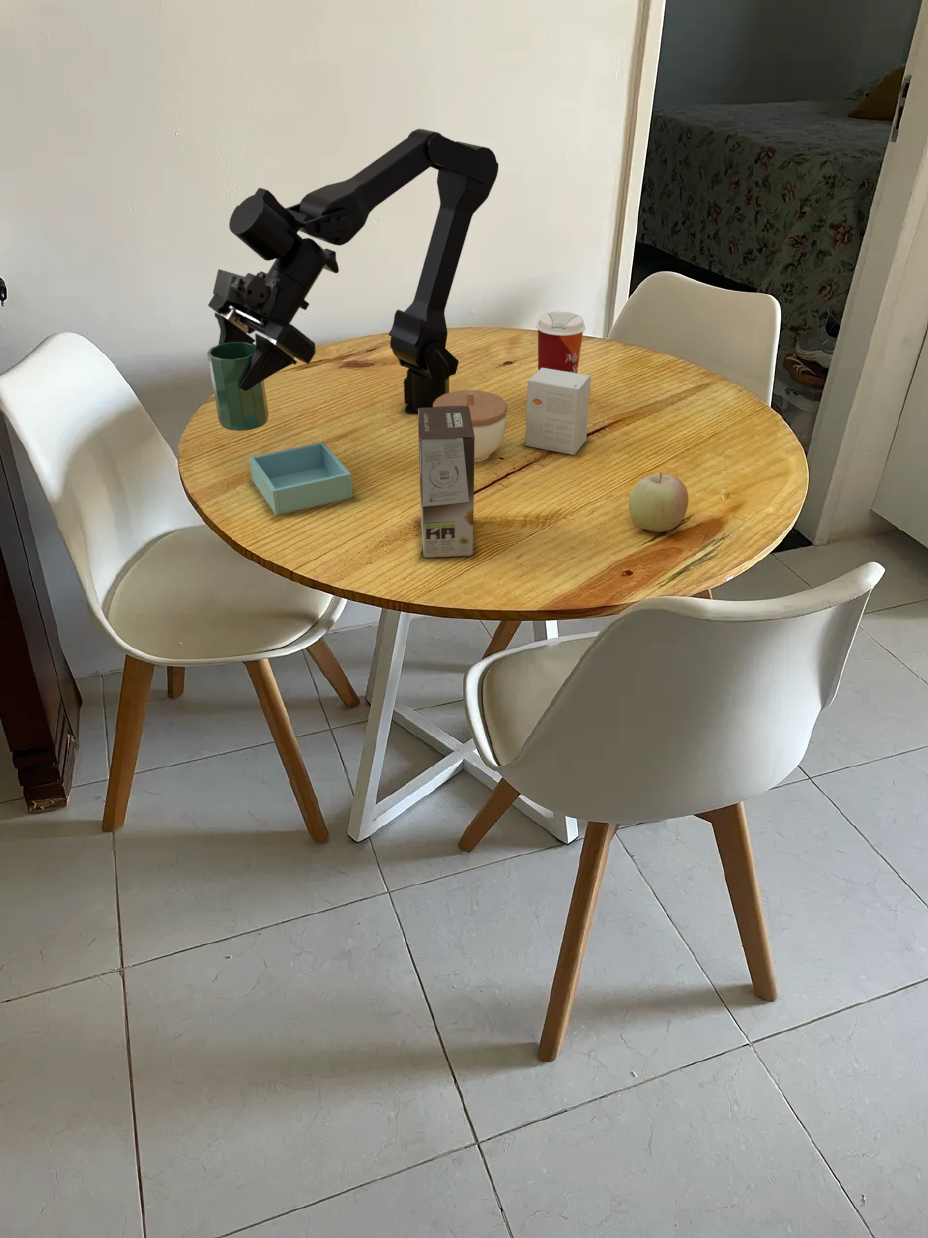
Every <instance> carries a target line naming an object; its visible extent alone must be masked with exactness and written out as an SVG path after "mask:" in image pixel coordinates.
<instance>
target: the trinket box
mask: <svg viewBox="0 0 928 1238" xmlns="http://www.w3.org/2000/svg"><path fill="white" fill-rule="evenodd" d="M438 406H468V407H469V411H470V416H471V421H472V426H473V431H474V436H475V443H474V464H475V463H480V462H483V461H485V460H487V459H488V458H490V456H491V454H493V453H494V452H495V451H496V450H497V449H498V448H499V446H500V445H501V443H502V441H503V440H504V439H503V438H504V435H505V431H506V426H507V415H508V409H509V408H508V403H507V401H506V400H505V399H504V398H503V397H502V396H500V395H498V394H495V393H493V392H489V391H484V390H479V389H477V390H475V389H464V390H454V391H451V392H450V391H449V393H447V394H444V395H442V396H440V397H438V398H437V399H436V400H435V402H434V403H433V408H434V407H438Z"/></svg>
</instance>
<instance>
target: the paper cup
mask: <svg viewBox="0 0 928 1238" xmlns="http://www.w3.org/2000/svg"><path fill="white" fill-rule="evenodd" d="M535 328H536V329H537V371H538V370H539V369H541V368H547V369H553V370H559V371H566V372H572V373H578V371H579V370H578V369H579V363H580V355H581V347H582V343H583V335H584V331H585V330H586V325H585V324H584V318H583V317H582V316H581V315H579V314H577V313H573V312H568V311H550V312H546V313H543V314H541V315H540V317H539V318H538V322H537V323H536V325H535Z"/></svg>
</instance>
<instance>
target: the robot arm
mask: <svg viewBox="0 0 928 1238" xmlns="http://www.w3.org/2000/svg"><path fill="white" fill-rule="evenodd" d="M407 136H408V137H406V138H404V140H402V141H401V142H399V143H398V144H397V145H395V146H394V147H392V148H390V149H389V150H388V151H387V152H385V153H384V154H383V155H381V156H379V157H378V158H377V159H375V160H374V161H373V162H371V163H370V164H368V165H367V166H366V167H364V168H363V169H361V170H360V171H358V172H357V173H356V174H354V175H353V176H352V177H350V178H348V179H346V180H343V181H339V182H335V183H330V184H326V185H324V186H322V187H320V188H317V189H315V190H312V191H310V192H308V193H307V194H306V195H305V196H304V197H303V198H302V199H301V200H300V202H298V203H296V204H293V205H291V206H287V207H284V205H282V204H281V203H280V202H279V201H278V199H277V198H276V196H275V195H274V194H273V192H271V191H270V190H268V189H266V188H262V187H258V188H257V190H256V192H255V193H254V194H253V195H250V196H248V197H246V198H244V200H243V201H241V203H240V204H238V205H236V206H235V208H234V209H233V211H232V213H231V214H230V218H229V222H228V225H229V226H228V227H229V230H230V232H231V233H232V234H233V235H234V236H236V238H238V239H239V240H240V241H241V242H243V244H245V245H246V246H247V247H249V249H251V250H252V251H253V252H254V253H256V255H258V256H259V257H260V258H261V259H263V260H264V261H266V262H267V261H268V262H270V261H273V260H274V262H273V264H272V265H271V267H270V268H269V270H268V272H264V271H259V272H257V273H256V274H253V273H251V272H247V274H246V275H241V274H237V273H234V272H231V271H227V270H223V269H221V268H218V269H217V273H216V278H215V282H214V286H213V290H212V294H213V296H212V298H211V299H210V300H209V303H208V304H207V306H208V308H210V309H211V310H213V311H214V318H215V319H216V320H217V323H218V326H219V338H218V344H217V345H219V344H223V343H228V342H248V343H252V344H254V343H255V345H256V351H255V353H254V355H253V357H252V359H251V361H250V363H249V365H248V367H247V369H246V371H245V373H244V375H243V378H242V380H241V382H240V385H239V387H240V388H241V389H242V390H244V391H247V390H249V389H250V388H252V387H253V386H255V385H257V384H258V383H260V382H261V381H263V380H264V381H265V380H266V379H267V378H270V377H271V376H273V375H275V374H276V373H278V372H280V371H282V370H284V369H286V368H287V367H289V366H291V365H297V364H298V361H297V360H299V361H300V362H302V363H304V364H306V365H310V363H311V362H312V361H313V359H314V357H315V355H316V354H317V350H316V349H317V348H316V342H315V341H313V340H312V339H310V338H309V337H308V336H307V335H305V334H304V333H303V332H302V331H301V330H299V329H298V328H296V326H294V325H293V324H291V323H292V321H293V319H294V317H295V315H297V313H298V311H299V309H302V310H304V311H307V309H308V307H309V306H310V303H309V302H308V301H306V300H305V299H306V298H307V296H308V295H309V293H310V291H311V290H312V288H313V287H314V285H315V283H316V282H317V280H318V278H319V277H320V275H321V273H322V272H323V270H326V271H328V272H331V273H334V274H338V273H339V272H340V269H339V264H338V260H337V252H336V251H335V250H332V249H330V248H322V246H321V245H320V244H318V242H316V241H315V239H317V240H320V241H322V242H326V243H328V244H330V245H334V246H339V247H340V246H344V245H346V244H348V243H349V242H350V241H351V240H353V238H354V237H355V236H356V235H357V234H358V233H359V232H360V231H361V230H362V229H363V228H364V227H365V225H366V222H367V220H368V218H369V215H370V214H371V212H373V210H374V209H375V208H377V206H379V205H380V204H382V203H383V202H385V201H386V200H387V199H389V198H390V197H391V196H393V195H394V194H396V192H398V191H400V190H401V189H402V188H404V187H405V186H407V185H408V184H409V183H411V181H413V180H414V179H416V178H417V177H418V176H420V175H421V174H423V173H424V172H425V171H427V170H428V169H429V168H432V169H434V170H437V177H436V185H437V191H438V197H439V208H438V211H437V215H436V219H435V221H434V222H435V223H434V226H433V230H432V233H431V237H430V240H429V243H428V248H427V251H426V254H425V258H424V261H423V265H422V268H421V272H420V277H419V279H418V284H417V286H416V291H415V294H414V297H413V299H412V303H410V305H409V306H408V307H407V308H406V309H404V311H403V310H401V309H397V310H396V311H395V314H394V318H393V323H392V327H391V329H390V331H389V333H388V336H389V337H390V341H389V347H390V349H391V351H392V353H393V355H394V356H395V357H396V358H397V360H398V362H399V365H400V366H401V367H403V368H406V369H407V371H406V376H405V378H404V380H403V400H404V404H405V405H406V406H405V407H404V412H405V413H412V414H418V409H419V408H433V403H434V402H435V400H436V399H437V398H438V397H440V396H442V395H444V394H447V393H450V377H451V376H454V375H456V374H457V371H458V367H459V359H457V358H456V357H455V356H454V355H453V354H452V353H451V352H450V351H449V350H447V348H446V346H447V339H448V328H447V323H446V322H447V321H446V316H445V311H446V306H447V304H448V300H449V296H450V293H451V290H452V286H453V283H454V281H455V276H456V273H457V272H456V271H457V269H458V266H459V262H460V258H461V256H462V252H463V248H464V245H465V241H466V238H467V235H468V233H469V229H470V226H471V225H470V224H471V221H472V218H473V216H474V214H475V213H476V212H477V210H479V208H481V206H482V205H483V204H484V203H485V202H486V201H487V199H488V198H489V196H490V194H491V192H492V189H493V187H494V184H495V182H496V180H497V177H498V173H499V162H498V161H497V156H496V154H495V153H494V151H493V150H492V149H491V148H489V147H486V146H483V145H482V146H481V145H476V144H473V143H467V142H463V141H458V140H456V141H455V140H452V139H450V138H448V137H447V136H444V135H443V134H441V133H440V132H438V131H434V130H429V129H424V128H417V129H414V130H412V131H411V132H409V134H408V135H407ZM298 232H301V233H303V234H306V235H307V236H309V237H305V238H304V237H302V236H301V235H299V234H298ZM310 237H312V238H314V239H312V238H310ZM255 332H258V333H259V334H258V333H255ZM253 333H255V334H254V338H253V337H252V336H250V335H251V334H253ZM260 334H262V335H264V336H265V337H264V336H262V335H260ZM295 358H296V359H297V360H296V359H295Z"/></svg>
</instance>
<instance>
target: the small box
mask: <svg viewBox="0 0 928 1238" xmlns="http://www.w3.org/2000/svg"><path fill="white" fill-rule="evenodd" d="M591 380H592V376H591V375H590V374H583V373H578V372H577V373H572V372H566V371H559V370H553V369H547V368H541V369H539V370H538V369H537V371H536V372H535V373H534V374H532V376H531V377H530V378H529V379H528V380H527V388H526V389H527V390H526V391H527V392H526V415H525V416H526V417H525V446H526V447H530V448H535V449H540V450H545V451H550V452H555V453H560V454H566V455H570V456H575V455H576V454H577V453H578V451H579V450H580V449H581V447H582V446H583V444H584V443H585V442H586V441H587V433H588V420H589V406H590V394H591Z"/></svg>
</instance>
